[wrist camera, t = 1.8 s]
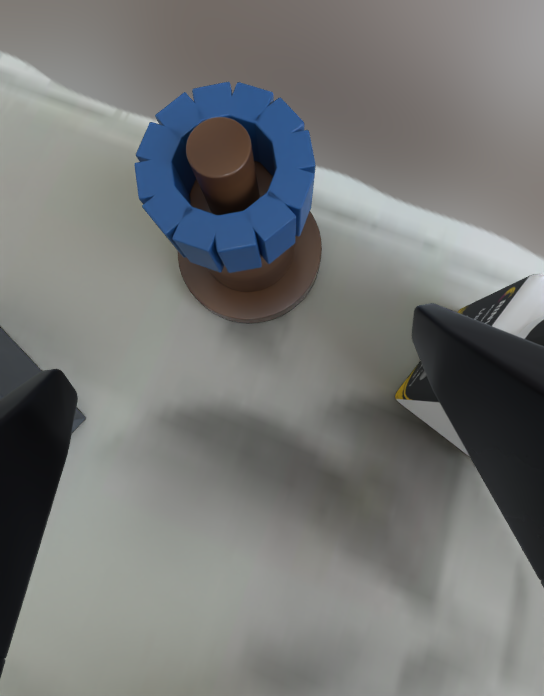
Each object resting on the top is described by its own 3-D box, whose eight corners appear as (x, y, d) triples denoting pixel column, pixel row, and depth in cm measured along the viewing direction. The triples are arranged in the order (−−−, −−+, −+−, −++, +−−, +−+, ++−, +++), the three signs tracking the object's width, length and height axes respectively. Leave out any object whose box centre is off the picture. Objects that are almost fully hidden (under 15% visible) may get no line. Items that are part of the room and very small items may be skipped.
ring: (295, 115, 17) (296, 67, 14) (322, 257, 16) (328, 232, 13) (150, 143, 17) (125, 100, 14) (169, 284, 16) (146, 265, 13)
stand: (348, 268, 23) (396, 166, 12) (234, 351, 23) (185, 317, 12) (266, 165, 24) (247, -8, 13) (157, 243, 24) (51, 127, 13)
